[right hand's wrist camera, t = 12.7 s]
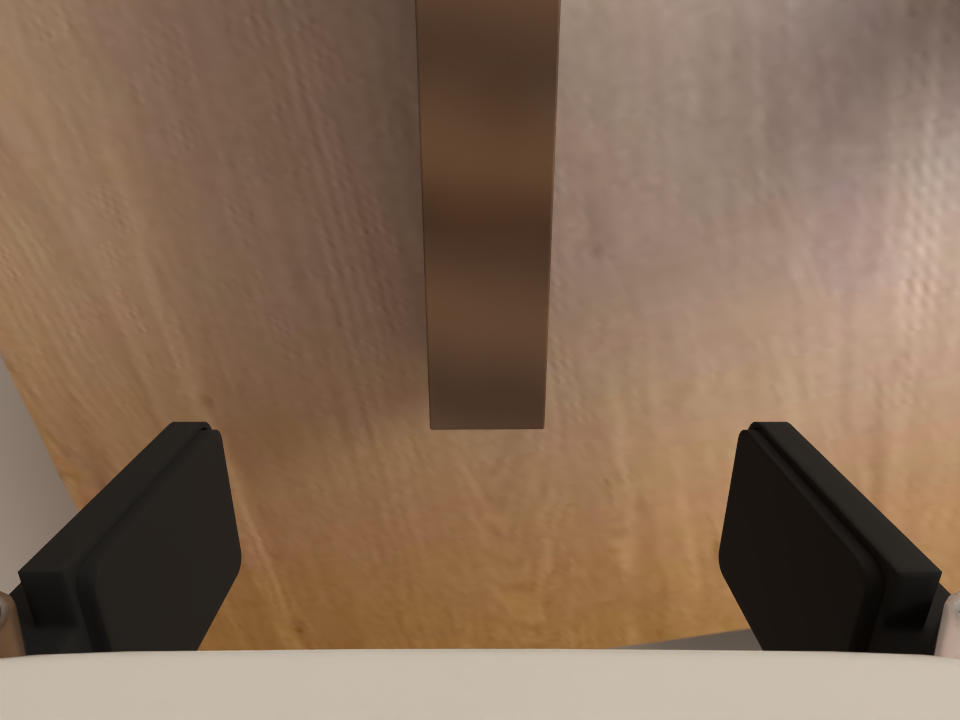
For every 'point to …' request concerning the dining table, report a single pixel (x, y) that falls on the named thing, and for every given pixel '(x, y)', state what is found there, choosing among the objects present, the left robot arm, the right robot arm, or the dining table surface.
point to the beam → (487, 205)
